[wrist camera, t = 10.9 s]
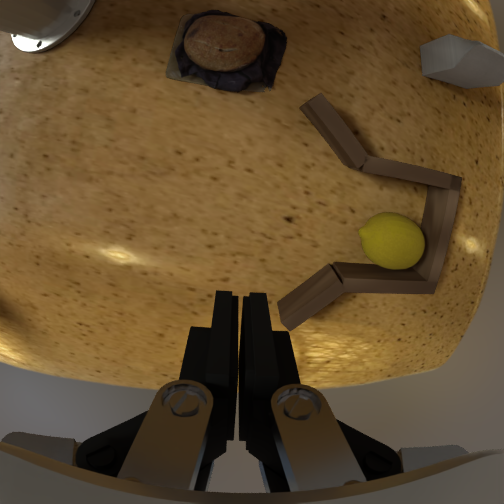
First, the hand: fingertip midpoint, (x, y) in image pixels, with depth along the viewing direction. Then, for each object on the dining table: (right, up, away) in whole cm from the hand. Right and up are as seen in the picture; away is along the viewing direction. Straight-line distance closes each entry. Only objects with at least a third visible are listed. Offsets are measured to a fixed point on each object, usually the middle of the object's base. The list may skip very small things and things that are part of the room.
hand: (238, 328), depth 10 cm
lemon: (+10, +5, +17) cm, 21 cm away
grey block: (+22, +23, +14) cm, 35 cm away
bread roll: (-2, +22, +14) cm, 26 cm away
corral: (+13, +6, +20) cm, 24 cm away
